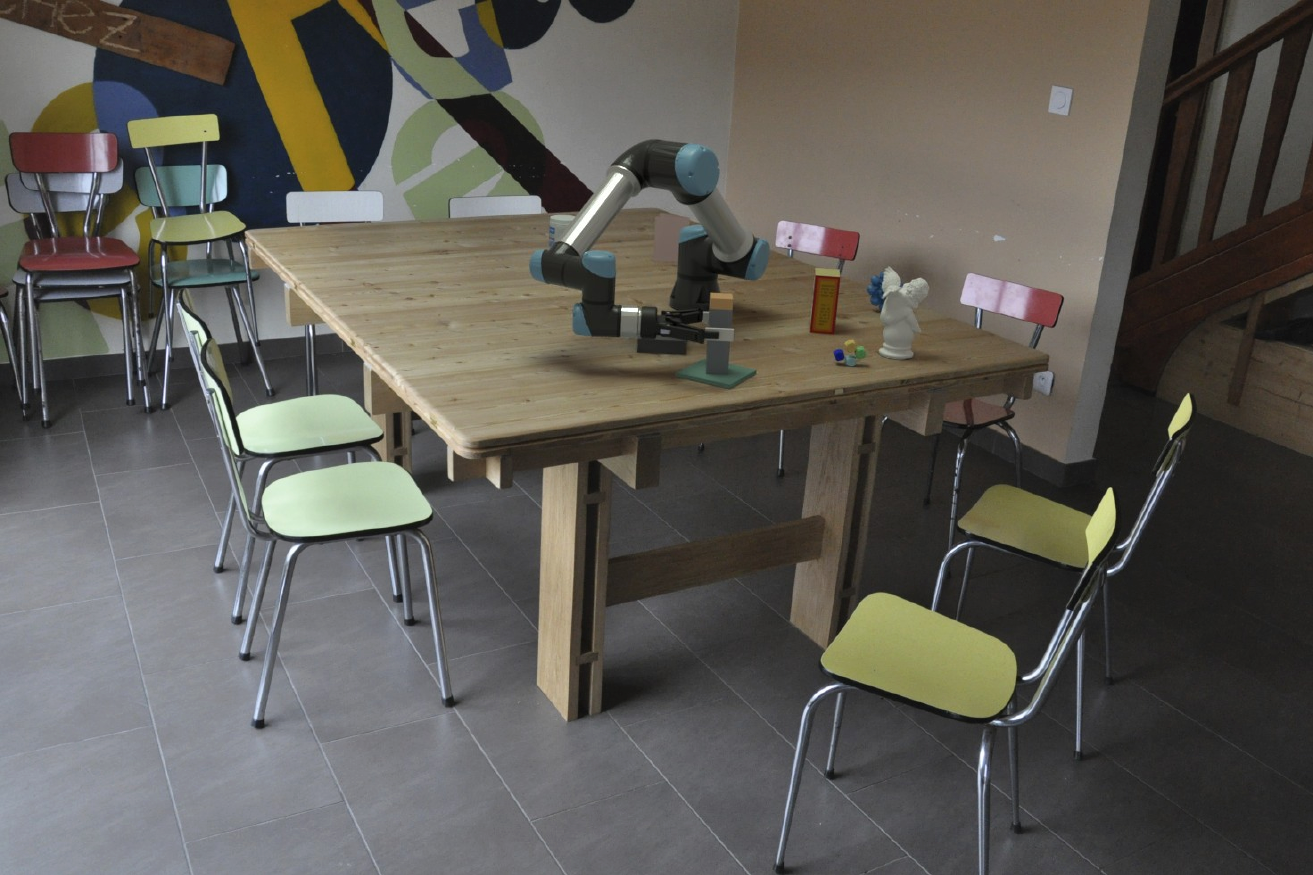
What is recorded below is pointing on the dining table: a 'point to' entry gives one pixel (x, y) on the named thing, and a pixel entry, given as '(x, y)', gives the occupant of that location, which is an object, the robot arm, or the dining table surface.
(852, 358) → the dice
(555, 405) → the dining table surface
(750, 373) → the mat
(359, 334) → the dining table surface
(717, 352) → the plug
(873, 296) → the grapes
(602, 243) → the dining table surface
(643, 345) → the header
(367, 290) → the dining table surface
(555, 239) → the supplement tub
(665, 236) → the greeting card
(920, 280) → the cherub figurine
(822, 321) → the baking soda box
